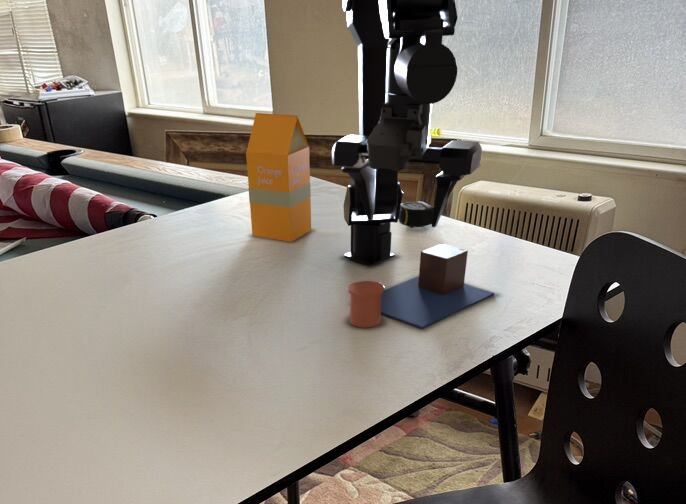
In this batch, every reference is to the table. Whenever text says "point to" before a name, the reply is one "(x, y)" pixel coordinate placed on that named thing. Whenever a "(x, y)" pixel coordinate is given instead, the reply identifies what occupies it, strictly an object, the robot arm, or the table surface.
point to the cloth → (427, 302)
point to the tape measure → (415, 214)
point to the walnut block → (442, 269)
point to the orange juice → (279, 178)
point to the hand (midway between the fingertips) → (401, 223)
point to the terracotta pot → (365, 303)
